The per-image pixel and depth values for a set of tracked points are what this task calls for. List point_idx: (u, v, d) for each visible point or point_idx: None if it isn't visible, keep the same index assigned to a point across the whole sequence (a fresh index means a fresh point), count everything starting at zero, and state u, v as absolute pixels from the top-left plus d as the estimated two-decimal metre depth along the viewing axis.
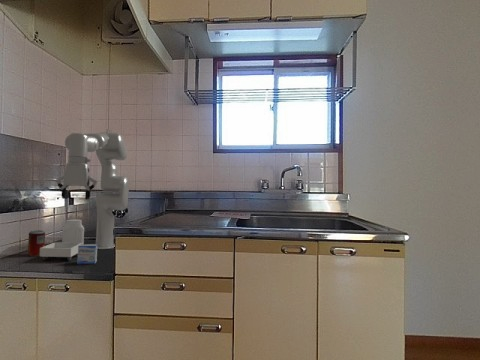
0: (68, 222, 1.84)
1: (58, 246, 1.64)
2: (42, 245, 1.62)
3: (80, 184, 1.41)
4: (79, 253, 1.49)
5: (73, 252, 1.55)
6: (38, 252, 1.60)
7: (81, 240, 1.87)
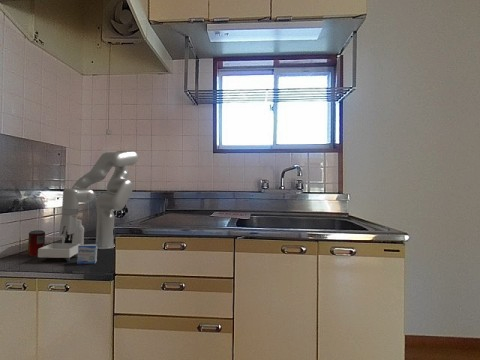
0: None
1: (57, 247, 1.62)
2: (42, 245, 1.62)
3: (74, 231, 1.68)
4: (79, 253, 1.49)
5: (72, 253, 1.53)
6: None
7: (81, 240, 1.87)
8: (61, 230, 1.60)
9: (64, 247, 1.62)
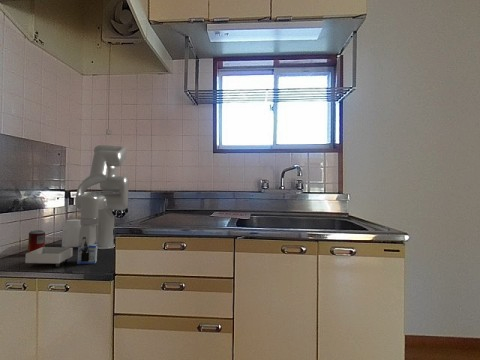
0: (68, 222, 1.84)
1: (46, 251, 1.52)
2: (42, 245, 1.62)
3: (94, 242, 1.54)
4: (79, 253, 1.49)
5: (62, 258, 1.43)
6: None
7: None
8: (80, 241, 1.46)
9: (54, 251, 1.52)
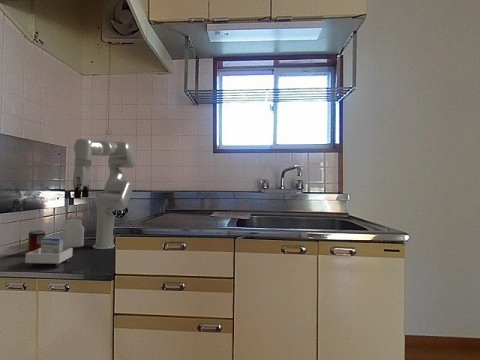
0: (68, 222, 1.84)
1: None
2: None
3: (87, 184, 1.62)
4: (42, 246, 1.45)
5: (62, 258, 1.43)
6: None
7: (81, 240, 1.87)
8: (74, 181, 1.54)
9: None
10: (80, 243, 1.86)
